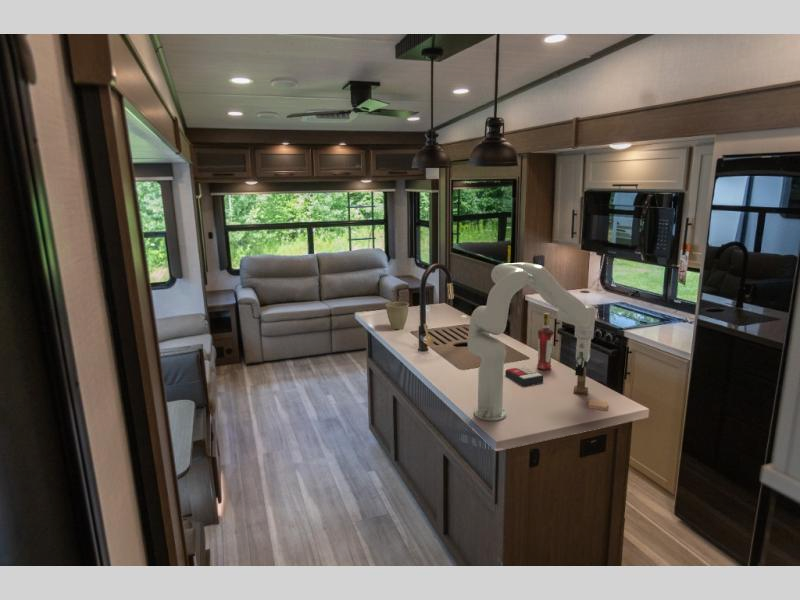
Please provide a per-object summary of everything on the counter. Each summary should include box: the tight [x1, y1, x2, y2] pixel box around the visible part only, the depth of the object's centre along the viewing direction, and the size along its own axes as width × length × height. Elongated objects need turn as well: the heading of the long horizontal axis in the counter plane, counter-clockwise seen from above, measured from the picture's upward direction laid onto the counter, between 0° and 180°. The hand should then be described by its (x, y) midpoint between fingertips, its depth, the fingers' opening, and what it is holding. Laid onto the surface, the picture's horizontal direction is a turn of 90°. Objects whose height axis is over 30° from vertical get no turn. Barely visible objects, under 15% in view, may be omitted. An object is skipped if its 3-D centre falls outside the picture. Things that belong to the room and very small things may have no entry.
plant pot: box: [385, 301, 410, 330], centre depth 322 cm, size 15×15×16 cm
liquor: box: [536, 312, 554, 371], centre depth 245 cm, size 7×7×28 cm
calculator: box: [505, 365, 544, 387], centre depth 235 cm, size 11×4×15 cm
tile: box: [587, 399, 609, 411], centre depth 205 cm, size 2×7×6 cm
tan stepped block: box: [572, 365, 589, 396], centre depth 217 cm, size 3×6×12 cm, turn 63°
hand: (580, 372), depth 216 cm, fingers open, 9 cm apart
